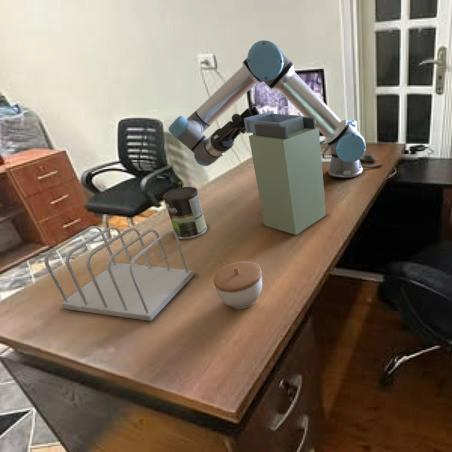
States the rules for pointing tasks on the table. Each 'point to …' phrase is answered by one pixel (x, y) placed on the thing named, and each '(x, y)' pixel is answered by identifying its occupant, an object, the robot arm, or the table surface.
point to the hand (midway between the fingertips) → (253, 111)
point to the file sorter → (124, 280)
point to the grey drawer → (273, 121)
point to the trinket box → (239, 284)
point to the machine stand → (289, 175)
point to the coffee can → (185, 212)
